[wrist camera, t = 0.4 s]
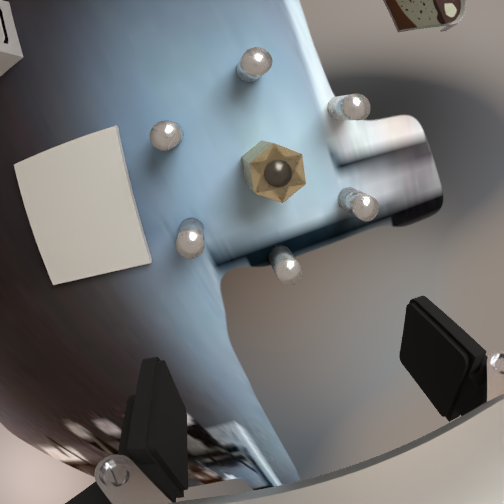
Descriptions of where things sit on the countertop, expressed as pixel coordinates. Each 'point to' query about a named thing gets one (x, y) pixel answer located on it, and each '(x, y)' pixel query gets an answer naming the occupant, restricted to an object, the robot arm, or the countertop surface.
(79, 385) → the countertop surface
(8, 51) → the grater
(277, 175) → the faceted candle holder
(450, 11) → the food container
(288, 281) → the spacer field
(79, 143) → the mat
